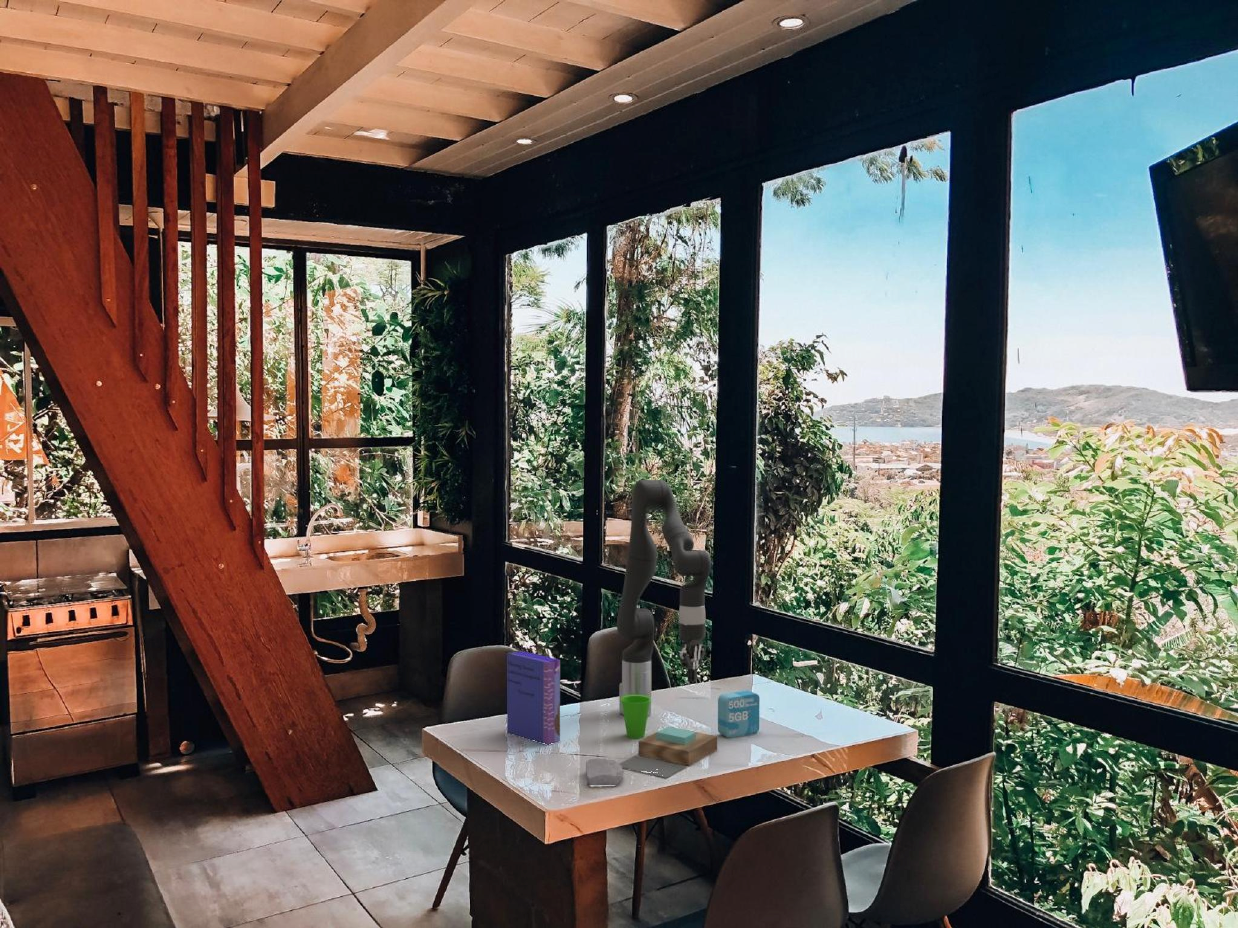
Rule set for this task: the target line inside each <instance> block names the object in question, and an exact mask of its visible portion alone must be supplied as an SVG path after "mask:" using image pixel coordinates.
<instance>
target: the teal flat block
mask: <svg viewBox="0 0 1238 928" xmlns="http://www.w3.org/2000/svg"><path fill="white" fill-rule="evenodd" d="M666 727H667V728H666ZM666 727H665V729H664V728H662V729H660V730H658V731H656V732H657V739H658V740H663V741H668V742H672V743H677V744H682V745H686V744H688V743H690V742H692V741H694V740H696V732H697V731H694V732H692V731H693V730H689V731H687V729H684V730H682V729H683V728H679V729H677V727H674V728H672V727H673V726H669V727H668V726H666Z"/></svg>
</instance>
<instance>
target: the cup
mask: <svg viewBox="0 0 1238 928" xmlns="http://www.w3.org/2000/svg"><path fill="white" fill-rule="evenodd" d="M620 700H621V701H622V706H623V713H624V715H623V718H624V726H625V731H626V737H628V738H630V739H641V738H642V739H643V738H645V734H646V730H647V729H646V728H647V722H648V710H649V704H650V701H651V702H652V697H651V698H650V697H648V696H644V695H627V696H623V697H621V699H620Z"/></svg>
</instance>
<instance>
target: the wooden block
mask: <svg viewBox="0 0 1238 928" xmlns="http://www.w3.org/2000/svg"><path fill="white" fill-rule="evenodd" d="M667 727H670V726H666V727H665V728H667ZM671 727H672V728H675V727H673V726H671ZM665 728H663V729H665ZM676 728H677V727H676ZM677 729H680V728H677ZM681 729H682V730H685V729H684V728H681ZM686 730H687V729H686ZM687 731H690V730H687ZM691 731H692V732H696V740H694V741H692V742H690V743H688V744H686V745H682V744H677V743H672V742H668V741H663V740H658V739H657V732H658V731H656V732H654V733H652V734H650V735H648V736H646V737H645V736H644V737H642V739H641V738H640V739H639V740H638V742H637V743H638V746H637V747H638V753H637V754H638V755H637V756H640V757H645V756H646V757H645V758H649V757H651V758H650V759H654V760H658V759H660V760H659V761H663V760H665V761H664V762H667V761H668V762H667V763H672V762H673V763H672V764H676V763H679V764H678V765H680V766H685V767H690V766H692V765H694V764H695V763H697V762H699V761H701V760H702V759H705V758H706V757H708V756H710V755H711V754H713V753H715V752H717V751H718V736H717V735H714V734H710V733H704V732H698V731H695V730H694V731H693V730H691ZM693 763H694V764H693Z"/></svg>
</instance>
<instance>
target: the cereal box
mask: <svg viewBox="0 0 1238 928" xmlns="http://www.w3.org/2000/svg"><path fill="white" fill-rule="evenodd" d="M506 684H507V685H506V687H507V688H506V698H507V699H506V712H507V713H506V720H507V721H506V724H507V725H506V733H507V734H509V733H510V735H512V734H514V735H513V736H516V737H519V736H520V737H519V738H522V737H524V738H523V739H525V738H526V739H525V740H528V739H530V740H529V741H532V740H535V741H537V742H536V743H538V742H541V743H545V744H547V745H548V746H550V745H549V744H551V743H555V742H558V741H560V742H561V659H558V658H554V657H550V656H545V655H540V654H536V653H533V652H528V651H522V650H512V651H510V652H507V653H506ZM535 741H534V742H535ZM541 743H540V744H541ZM558 743H559V742H558ZM555 744H556V743H555ZM547 745H546V746H547ZM551 745H552V744H551Z"/></svg>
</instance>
